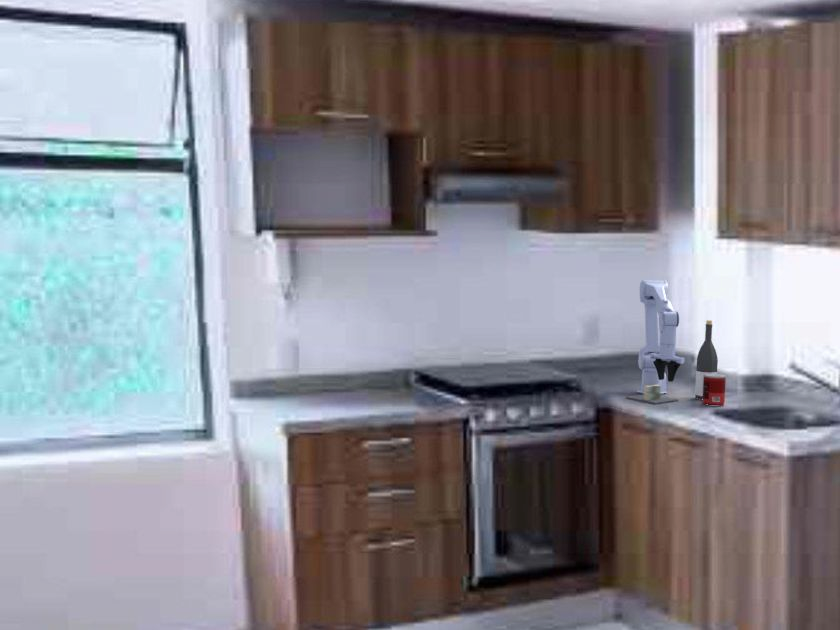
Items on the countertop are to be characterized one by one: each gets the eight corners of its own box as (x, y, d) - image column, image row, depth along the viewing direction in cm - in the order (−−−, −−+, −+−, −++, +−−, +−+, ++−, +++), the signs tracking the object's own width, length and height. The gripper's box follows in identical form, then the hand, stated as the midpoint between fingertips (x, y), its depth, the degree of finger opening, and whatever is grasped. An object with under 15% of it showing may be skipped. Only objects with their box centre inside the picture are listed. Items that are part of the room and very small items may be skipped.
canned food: (728, 404, 376) (730, 375, 374) (716, 407, 370) (717, 377, 369) (710, 401, 381) (711, 372, 380) (698, 403, 376) (699, 374, 375)
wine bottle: (691, 398, 386) (694, 320, 383) (698, 396, 393) (702, 318, 390) (711, 401, 382) (715, 322, 379) (719, 398, 388) (723, 320, 385)
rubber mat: (649, 395, 392) (649, 393, 392) (678, 401, 381) (678, 399, 381) (626, 398, 384) (626, 396, 384) (655, 404, 373) (655, 402, 373)
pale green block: (656, 397, 384) (656, 384, 383) (660, 398, 382) (660, 385, 382) (643, 399, 379) (644, 386, 379) (647, 400, 378) (648, 386, 377)
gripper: (645, 342, 377) (643, 378, 379) (676, 346, 366) (674, 384, 367) (657, 341, 382) (656, 377, 383) (688, 345, 370) (687, 382, 371)
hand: (665, 380), depth 375 cm, fingers open, 4 cm apart
